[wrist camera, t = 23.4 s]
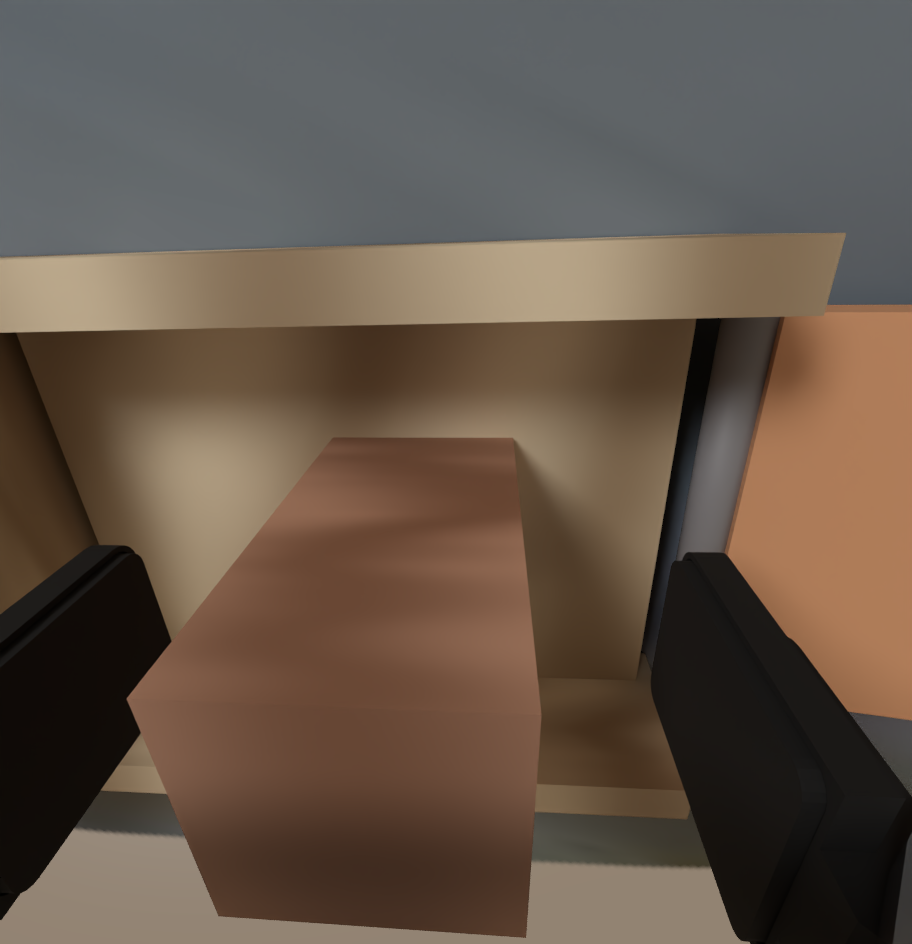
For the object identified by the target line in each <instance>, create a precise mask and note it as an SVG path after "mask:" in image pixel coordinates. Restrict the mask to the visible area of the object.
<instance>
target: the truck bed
mask: <svg viewBox="0 0 912 944" xmlns="http://www.w3.org/2000/svg"><path fill="white" fill-rule="evenodd" d="M845 236H846V233H778V234H700V235H669V236H638V237H607V238H575V239H544V240H513V241H482V242H450V243H419V244H388V245H357V246H326V247H294V248H263V249H232V250H201V251H170V252H138V253H107V254H76V255H45V256H13V257H0V614H1V613H3V612H4V611H5V610H6V609H8V608H9V607H10V606H12V605H13V604H14V603H16V602H17V601H18V600H19V599H21V598H22V597H23V596H25V595H26V594H27V593H29V592H30V591H31V590H32V589H34V588H35V587H36V586H38V585H39V584H40V583H42V582H43V581H44V580H45V579H47V578H48V577H49V576H51V575H52V574H53V573H55V572H56V571H57V570H58V569H60V568H61V567H62V566H64V565H65V564H66V563H68V562H69V561H70V560H71V559H73V558H74V557H75V556H77V555H78V554H79V553H81V552H82V551H83V550H84V549H86V548H88V547H90V546H93V545H125V546H129V547H130V548H132V549H133V550H134V552H135V554H138V555H139V556H140V557H141V558H142V560H143V562H144V564H145V567H146V570H147V573H148V576H149V579H150V581H151V584H152V587H153V590H154V593H155V596H156V598H157V601H158V604H159V607H160V610H161V612H162V615H163V618H164V621H165V624H166V627H167V629H168V632H169V635H170V638H171V641H172V640H173V639H174V638H175V637H176V635H177V634H178V633H179V632H180V630H181V629H182V628H183V626H184V625H185V624H186V623H187V621H188V620H189V619H190V618H191V616H192V615H193V614H194V613H195V611H196V610H197V609H198V608H199V606H200V605H201V604H202V602H203V601H204V600H205V599H206V597H207V596H208V595H209V594H210V592H211V591H212V590H213V589H214V587H215V586H216V585H217V583H218V582H219V581H220V580H221V578H222V577H223V576H224V575H225V573H226V572H227V571H228V570H229V568H230V567H231V566H232V564H233V563H234V562H235V561H236V559H237V558H238V557H239V556H240V554H241V553H242V552H243V551H244V549H245V548H246V547H247V545H248V544H249V543H250V542H251V540H252V539H253V538H254V537H255V535H256V534H257V533H258V532H259V530H260V529H261V528H262V526H263V525H264V524H265V523H266V521H267V520H268V519H269V518H270V516H271V515H272V514H273V513H274V511H275V510H276V509H277V507H278V506H279V505H280V504H281V502H282V501H283V500H284V499H285V497H286V496H287V495H288V494H289V492H290V491H291V490H292V489H293V487H294V486H295V485H296V483H297V482H298V481H299V480H300V478H301V477H302V476H303V475H304V473H305V472H306V471H307V470H308V468H309V467H310V466H311V464H312V463H313V462H314V461H315V459H316V458H317V457H318V456H319V454H320V453H321V452H322V451H323V449H324V448H325V447H326V445H327V444H328V443H329V442H330V440H331V439H332V438H333V437H371V438H513V443H514V452H515V462H516V472H517V482H518V491H519V501H520V511H521V520H522V530H523V540H524V550H525V559H526V569H527V579H528V589H529V598H530V608H531V618H532V627H533V637H534V647H535V657H536V666H537V676H538V686H539V696H540V705H541V729H540V744H539V758H538V772H537V787H536V801H535V812H549V813H570V814H590V815H611V816H631V817H652V818H672V819H687V818H688V815H689V811H690V805H689V802H688V799H687V796H686V794H685V791H684V788H683V785H682V782H681V779H680V776H679V773H678V770H677V768H676V765H675V762H674V759H673V756H672V753H671V750H670V747H669V744H668V742H667V739H666V736H665V733H664V730H663V727H662V724H661V721H660V718H659V716H658V713H657V710H656V707H655V704H654V701H653V698H652V693H651V674H652V672H651V670H650V667H649V664H648V661H647V659H646V656H645V653H641V647H642V641H643V635H644V629H645V623H646V617H647V611H648V605H649V599H650V593H651V587H652V581H653V575H654V569H655V564H656V558H657V552H658V546H659V540H660V534H661V528H662V522H663V516H664V510H665V504H666V498H667V492H668V486H669V480H670V474H671V468H672V462H673V456H674V450H675V444H676V438H677V432H678V427H679V421H680V415H681V409H682V403H683V397H684V391H685V385H686V379H687V373H688V367H689V361H690V355H691V349H692V343H693V337H694V331H695V325H696V319H697V318H743V317H792V316H824V313H825V309H826V306H827V302H828V298H829V295H830V291H831V287H832V284H833V280H834V276H835V272H836V269H837V265H838V261H839V258H840V254H841V250H842V247H843V243H844V239H845ZM101 791H120V792H140V793H161V794H167V793H166V791H165V788H164V786H163V783H162V781H161V779H160V776H159V774H158V772H157V769H156V767H155V765H154V762H153V760H152V758H151V755H150V753H149V750H148V748H147V746H146V743H145V741H144V739H143V736H142V734H140V735H139V737H138V738H137V740H136V741H135V742H134V744H133V745H132V747H131V748H130V749H129V751H128V752H127V754H126V755H125V757H124V758H123V759H122V761H121V762H120V764H119V765H118V766H117V768H116V769H115V771H114V772H113V774H112V775H111V776H110V778H109V779H108V781H107V782H106V783H105V785H104V786H103V788H102V789H101Z"/></svg>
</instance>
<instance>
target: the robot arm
mask: <svg viewBox="0 0 912 944" xmlns="http://www.w3.org/2000/svg"><path fill="white" fill-rule="evenodd" d="M171 642H172V641H171V638H170V635H169V632H168V629H167V627H166V624H165V621H164V618H163V615H162V612H161V610H160V607H159V604H158V601H157V598H156V596H155V593H154V590H153V587H152V584H151V581H150V579H149V576H148V573H147V570H146V567H145V564H144V562H143V560H142V558H141V557H140V556H139V555H138V554H135V552H134V550H133V549H132V548H130V547H129V546H125V545H93V546H90V547H88V548H86V549H84V550H83V551H82V552H81V553H79V554H78V555H77V556H75V557H74V558H73V559H71V560H70V561H69V562H68V563H66V564H65V565H64V566H62V567H61V568H60V569H58V570H57V571H56V572H55V573H53V574H52V575H51V576H49V577H48V578H47V579H45V580H44V581H43V582H42V583H40V584H39V585H38V586H36V587H35V588H34V589H32V590H31V591H30V592H29V593H27V594H26V595H25V596H23V597H22V598H21V599H19V600H18V601H17V602H16V603H14V604H13V605H12V606H10V607H9V608H8V609H6V610H5V611H4V612H3V613H1V614H0V920H2V918H3V917H4V916H5V914H6V913H7V911H8V910H9V908H10V907H11V906H12V904H13V903H14V902H15V900H16V899H17V897H18V896H19V895H20V893H22V892H24V891H26V890H27V889H28V888H30V887H31V886H32V885H33V884H34V883H35V882H36V880H37V879H38V878H39V877H40V875H41V874H42V873H43V871H44V870H45V868H46V867H47V865H48V864H49V863H50V861H51V860H52V858H53V857H54V856H55V854H56V853H57V851H58V850H59V848H60V847H61V846H62V844H63V843H64V841H65V840H66V839H67V837H68V836H69V834H70V833H71V832H72V830H73V829H74V827H75V826H76V824H77V823H78V822H79V820H80V819H81V817H82V816H83V815H84V813H85V812H86V810H87V809H88V808H89V806H90V805H91V803H92V802H93V800H94V799H95V798H96V796H97V795H98V793H99V792H100V791H101V789H102V788H103V786H104V785H105V783H106V782H107V781H108V779H109V778H110V776H111V775H112V774H113V772H114V771H115V769H116V768H117V766H118V765H119V764H120V762H121V761H122V759H123V758H124V757H125V755H126V754H127V752H128V751H129V749H130V748H131V747H132V745H133V744H134V742H135V741H136V740H137V738H138V737H139V735H140V734H141V732H140V729H139V727H138V724H137V722H136V720H135V717H134V715H133V713H132V710H131V708H130V706H129V703H128V701H127V697H128V696H129V695H130V694H131V692H132V691H133V690H134V689H135V687H136V686H137V685H138V683H139V682H140V681H141V680H142V678H143V677H144V676H145V675H146V673H147V672H148V671H149V670H150V668H151V667H152V666H153V664H154V663H155V662H156V661H157V659H158V658H159V657H160V656H161V654H162V653H163V652H164V651H165V649H166V648H167V647H168V645H169V644H170V643H171ZM651 693H652V698H653V701H654V704H655V707H656V710H657V713H658V716H659V718H660V721H661V724H662V727H663V730H664V733H665V736H666V739H667V742H668V744H669V747H670V750H671V753H672V756H673V759H674V762H675V765H676V768H677V770H678V773H679V776H680V779H681V782H682V785H683V788H684V791H685V794H686V796H687V799H688V802H689V805H690V808H691V811H692V814H693V817H694V820H695V822H696V825H697V828H698V831H699V834H700V837H701V840H702V843H703V846H704V848H705V851H706V854H707V857H708V860H709V863H710V866H711V869H712V872H713V874H714V877H715V880H716V883H717V886H718V889H719V891H720V894H721V897H722V900H723V903H724V906H725V909H726V912H727V915H728V917H729V920H730V923H731V926H732V928H733V930H734V932H735V934H736V935H737V937H738V938H739V939H740V940H741V941H748V942H750V944H912V797H911V795H910V794H909V793H908V791H907V790H906V789H905V787H904V786H903V784H902V783H901V782H900V780H899V779H898V778H897V776H896V775H895V774H894V772H893V771H892V770H891V768H890V767H889V766H888V764H887V763H886V762H885V760H884V759H883V758H882V756H881V755H880V754H879V752H878V751H877V750H876V748H875V747H874V746H873V744H872V743H871V742H870V740H869V739H868V738H867V736H866V735H865V734H864V732H863V731H862V730H861V728H860V727H859V726H858V724H857V723H856V722H855V720H854V719H853V718H852V716H851V715H850V714H849V712H848V711H847V710H846V708H845V707H844V706H843V704H842V703H841V702H840V700H839V699H838V698H837V696H836V695H835V694H834V692H833V691H832V690H831V688H830V687H829V685H828V684H827V683H826V681H825V680H824V679H823V677H822V676H821V675H820V673H819V672H818V671H817V669H816V668H815V667H814V665H813V664H812V663H811V661H810V660H809V659H808V657H807V656H806V655H805V653H804V652H803V651H802V649H801V648H800V647H799V646H798V645H797V644H796V643H795V642H794V641H793V640H792V639H791V638H789V637H787V636H786V634H785V633H784V632H783V630H782V629H781V627H780V626H779V625H778V623H777V622H776V621H775V619H774V618H773V617H772V615H771V614H770V613H769V611H768V610H767V608H766V607H765V606H764V604H763V603H762V602H761V600H760V599H759V598H758V596H757V595H756V594H755V592H754V591H753V589H752V588H751V587H750V585H749V584H748V583H747V581H746V580H745V579H744V577H743V576H742V574H741V573H740V572H739V570H738V569H737V568H736V566H735V565H734V564H733V562H732V561H731V560H730V558H729V557H728V556H727V555H726V554H725V553H722V552H687V553H685V555H684V556H683V559H682V561H674V562H673V564H672V566H671V571H670V576H669V582H668V587H667V592H666V598H665V603H664V609H663V614H662V619H661V625H660V630H659V636H658V641H657V647H656V652H655V657H654V663H653V668H652V674H651Z"/></svg>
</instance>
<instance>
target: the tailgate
mask: <svg viewBox="0 0 912 944" xmlns="http://www.w3.org/2000/svg"><path fill="white" fill-rule="evenodd" d="M687 552H722V553H725V554H726V555H727V556H728V557H729V558H730V560H731V561H732V562H733V564H734V565H735V566H736V568H737V569H738V570H739V572H740V573H741V574H742V576H743V577H744V579H745V580H746V581H747V583H748V584H749V585H750V587H751V588H752V589H753V591H754V592H755V594H756V595H757V596H758V598H759V599H760V600H761V602H762V603H763V604H764V606H765V607H766V608H767V610H768V611H769V613H770V614H771V615H772V617H773V618H774V619H775V621H776V622H777V623H778V625H779V626H780V627H781V629H782V630H783V632H784V633H785V634H786V636H787V637H789V638H791V639H792V640H793V641H794V642H795V643H796V644H797V645H798V646H799V647H800V648H801V649H802V651H803V652H804V653H805V655H806V656H807V657H808V659H809V660H810V661H811V663H812V664H813V665H814V667H815V668H816V669H817V671H818V672H819V673H820V675H821V676H822V677H823V679H824V680H825V681H826V683H827V684H828V685H829V687H830V688H831V690H832V691H833V692H834V694H835V695H836V696H837V698H838V699H839V700H840V702H841V703H842V704H843V706H844V707H845V708H846V710H847V711H848V712H855V713H862V714H869V715H877V716H884V717H891V718H899V719H906V720H912V305H827V306H826V309H825V313H824V316H792V317H743V318H721V322H720V327H719V333H718V338H717V343H716V348H715V354H714V359H713V364H712V370H711V375H710V380H709V386H708V391H707V396H706V402H705V407H704V412H703V418H702V423H701V428H700V434H699V439H698V444H697V450H696V455H695V460H694V466H693V471H692V476H691V482H690V487H689V492H688V497H687V503H686V508H685V513H684V519H683V524H682V529H681V535H680V540H679V545H678V551H677V556H676V561H682V559H683V556H684V555H685V553H687Z"/></svg>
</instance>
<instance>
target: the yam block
mask: <svg viewBox="0 0 912 944" xmlns="http://www.w3.org/2000/svg"><path fill="white" fill-rule="evenodd" d="M127 701H128V703H129V706H130V708H131V710H132V713H133V715H134V717H135V720H136V722H137V724H138V727H139V729H140V732H141V734H142V736H143V739H144V741H145V743H146V746H147V748H148V750H149V753H150V755H151V758H152V760H153V762H154V765H155V767H156V769H157V772H158V774H159V776H160V779H161V781H162V783H163V786H164V788H165V791H166V793H167V795H168V798H169V800H170V802H171V805H172V807H173V809H174V812H175V814H176V817H177V819H178V821H179V824H180V826H181V828H182V831H183V833H184V835H185V838H186V840H187V842H188V845H189V847H190V849H191V852H192V854H193V857H194V859H195V861H196V864H197V866H198V868H199V871H200V873H201V875H202V878H203V880H204V883H205V885H206V887H207V890H208V892H209V894H210V897H211V899H212V901H213V904H214V906H215V909H216V911H217V913H218V916H225V917H238V918H239V917H240V918H253V919H267V920H281V921H296V922H309V923H324V924H339V925H352V926H366V927H381V928H396V929H409V930H424V931H438V932H452V933H466V934H481V935H496V936H509V937H523V938H524V937H525V938H526V930H527V928H526V927H527V915H528V900H529V886H530V872H531V858H532V844H533V829H534V815H535V801H536V787H537V772H538V758H539V744H540V729H541V705H540V696H539V686H538V676H537V666H536V657H535V647H534V637H533V627H532V618H531V608H530V598H529V589H528V579H527V569H526V559H525V550H524V540H523V530H522V520H521V511H520V501H519V491H518V482H517V472H516V462H515V452H514V443H513V438H371V437H333V438H332V439H331V440H330V442H329V443H328V444H327V445H326V447H325V448H324V449H323V451H322V452H321V453H320V454H319V456H318V457H317V458H316V459H315V461H314V462H313V463H312V464H311V466H310V467H309V468H308V470H307V471H306V472H305V473H304V475H303V476H302V477H301V478H300V480H299V481H298V482H297V483H296V485H295V486H294V487H293V489H292V490H291V491H290V492H289V494H288V495H287V496H286V497H285V499H284V500H283V501H282V502H281V504H280V505H279V506H278V507H277V509H276V510H275V511H274V513H273V514H272V515H271V516H270V518H269V519H268V520H267V521H266V523H265V524H264V525H263V526H262V528H261V529H260V530H259V532H258V533H257V534H256V535H255V537H254V538H253V539H252V540H251V542H250V543H249V544H248V545H247V547H246V548H245V549H244V551H243V552H242V553H241V554H240V556H239V557H238V558H237V559H236V561H235V562H234V563H233V564H232V566H231V567H230V568H229V570H228V571H227V572H226V573H225V575H224V576H223V577H222V578H221V580H220V581H219V582H218V583H217V585H216V586H215V587H214V589H213V590H212V591H211V592H210V594H209V595H208V596H207V597H206V599H205V600H204V601H203V602H202V604H201V605H200V606H199V608H198V609H197V610H196V611H195V613H194V614H193V615H192V616H191V618H190V619H189V620H188V621H187V623H186V624H185V625H184V626H183V628H182V629H181V630H180V632H179V633H178V634H177V635H176V637H175V638H174V639H173V640H172V642H171V643H170V644H169V645H168V647H167V648H166V649H165V651H164V652H163V653H162V654H161V656H160V657H159V658H158V659H157V661H156V662H155V663H154V664H153V666H152V667H151V668H150V670H149V671H148V672H147V673H146V675H145V676H144V677H143V678H142V680H141V681H140V682H139V683H138V685H137V686H136V687H135V689H134V690H133V691H132V692H131V694H130V695H129V696H128V697H127Z"/></svg>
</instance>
